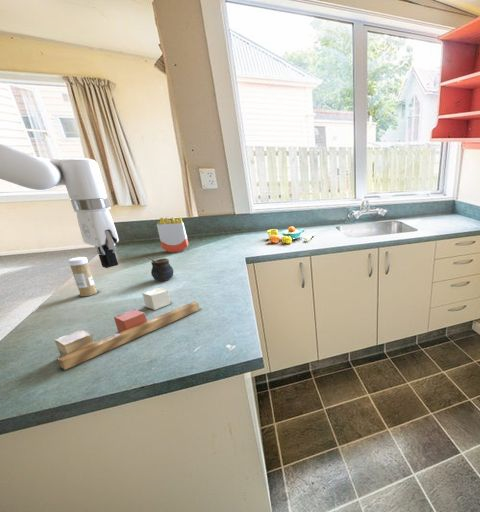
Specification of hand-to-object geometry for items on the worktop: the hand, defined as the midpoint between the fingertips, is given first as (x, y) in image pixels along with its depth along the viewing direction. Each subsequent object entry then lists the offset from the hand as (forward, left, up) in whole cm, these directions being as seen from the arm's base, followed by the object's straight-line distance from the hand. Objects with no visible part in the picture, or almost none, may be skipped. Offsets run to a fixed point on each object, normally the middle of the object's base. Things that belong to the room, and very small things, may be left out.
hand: (110, 266), depth 88 cm
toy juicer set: (+92, +14, -16) cm, 95 cm away
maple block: (-16, -15, -16) cm, 27 cm away
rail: (-4, -18, -16) cm, 24 cm away
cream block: (+8, -4, -16) cm, 18 cm away
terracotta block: (-4, -14, -16) cm, 22 cm away
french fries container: (+48, +53, -16) cm, 73 cm away
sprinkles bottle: (+2, +27, -16) cm, 31 cm away
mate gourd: (+22, +18, -16) cm, 32 cm away
